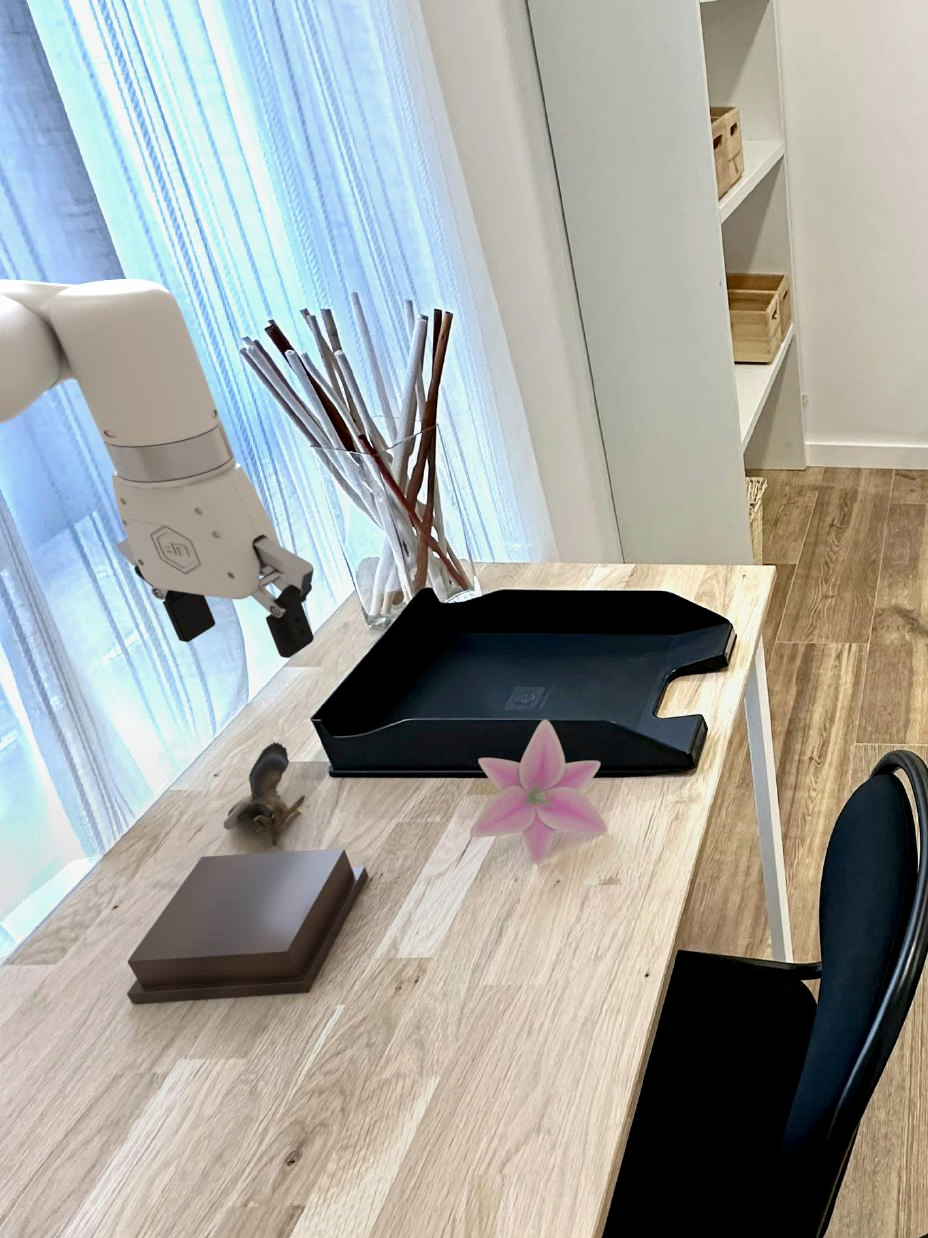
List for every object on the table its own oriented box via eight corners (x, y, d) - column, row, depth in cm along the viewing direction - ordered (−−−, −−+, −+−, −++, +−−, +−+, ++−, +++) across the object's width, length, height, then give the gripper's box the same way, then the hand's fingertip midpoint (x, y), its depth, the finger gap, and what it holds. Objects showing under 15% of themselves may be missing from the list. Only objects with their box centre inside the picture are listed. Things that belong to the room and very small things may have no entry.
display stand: (132, 1004, 85) (111, 969, 82) (213, 884, 96) (197, 851, 93) (308, 992, 86) (292, 957, 84) (368, 876, 97) (356, 842, 95)
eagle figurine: (340, 811, 102) (309, 752, 107) (276, 785, 96) (247, 724, 101) (276, 868, 101) (248, 807, 106) (207, 846, 95) (181, 782, 100)
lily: (461, 885, 98) (476, 834, 91) (459, 772, 104) (473, 717, 97) (599, 877, 104) (622, 830, 98) (589, 771, 110) (610, 720, 104)
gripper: (31, 458, 81) (123, 650, 90) (231, 483, 78) (304, 680, 87) (119, 423, 87) (196, 606, 96) (307, 445, 84) (368, 632, 93)
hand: (247, 641), depth 92 cm, fingers open, 9 cm apart
